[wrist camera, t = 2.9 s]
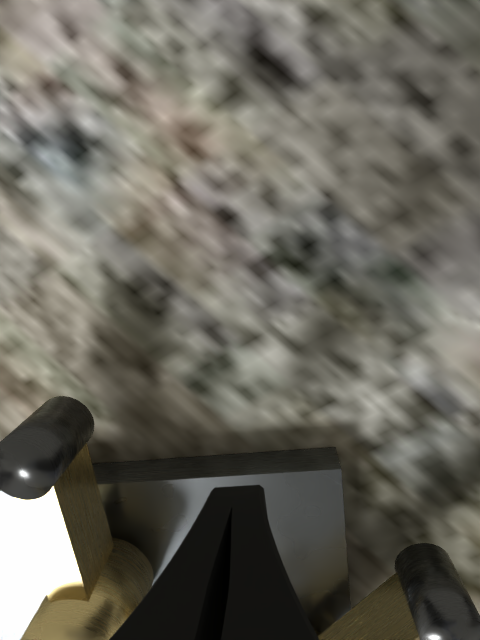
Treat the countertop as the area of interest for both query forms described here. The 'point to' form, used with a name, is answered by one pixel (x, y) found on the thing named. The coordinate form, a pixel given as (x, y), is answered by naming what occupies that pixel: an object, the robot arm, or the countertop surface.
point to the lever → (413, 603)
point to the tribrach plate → (181, 512)
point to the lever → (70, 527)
